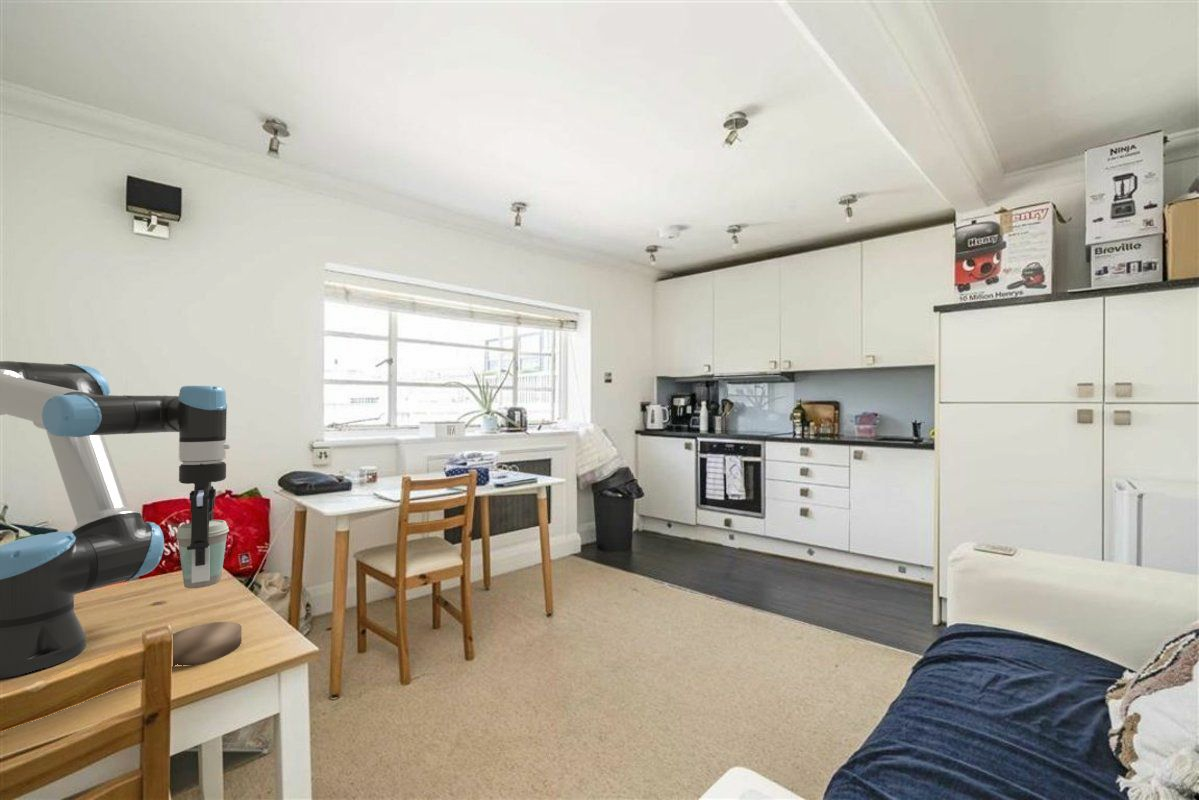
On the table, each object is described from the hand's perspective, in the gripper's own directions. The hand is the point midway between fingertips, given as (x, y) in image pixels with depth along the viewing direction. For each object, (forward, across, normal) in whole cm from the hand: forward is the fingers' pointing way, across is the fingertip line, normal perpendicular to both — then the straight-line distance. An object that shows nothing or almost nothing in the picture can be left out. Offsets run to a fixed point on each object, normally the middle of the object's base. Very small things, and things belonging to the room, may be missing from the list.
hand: (202, 575), depth 103 cm
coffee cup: (+2, 0, 0) cm, 2 cm away
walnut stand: (+15, 0, 0) cm, 15 cm away
